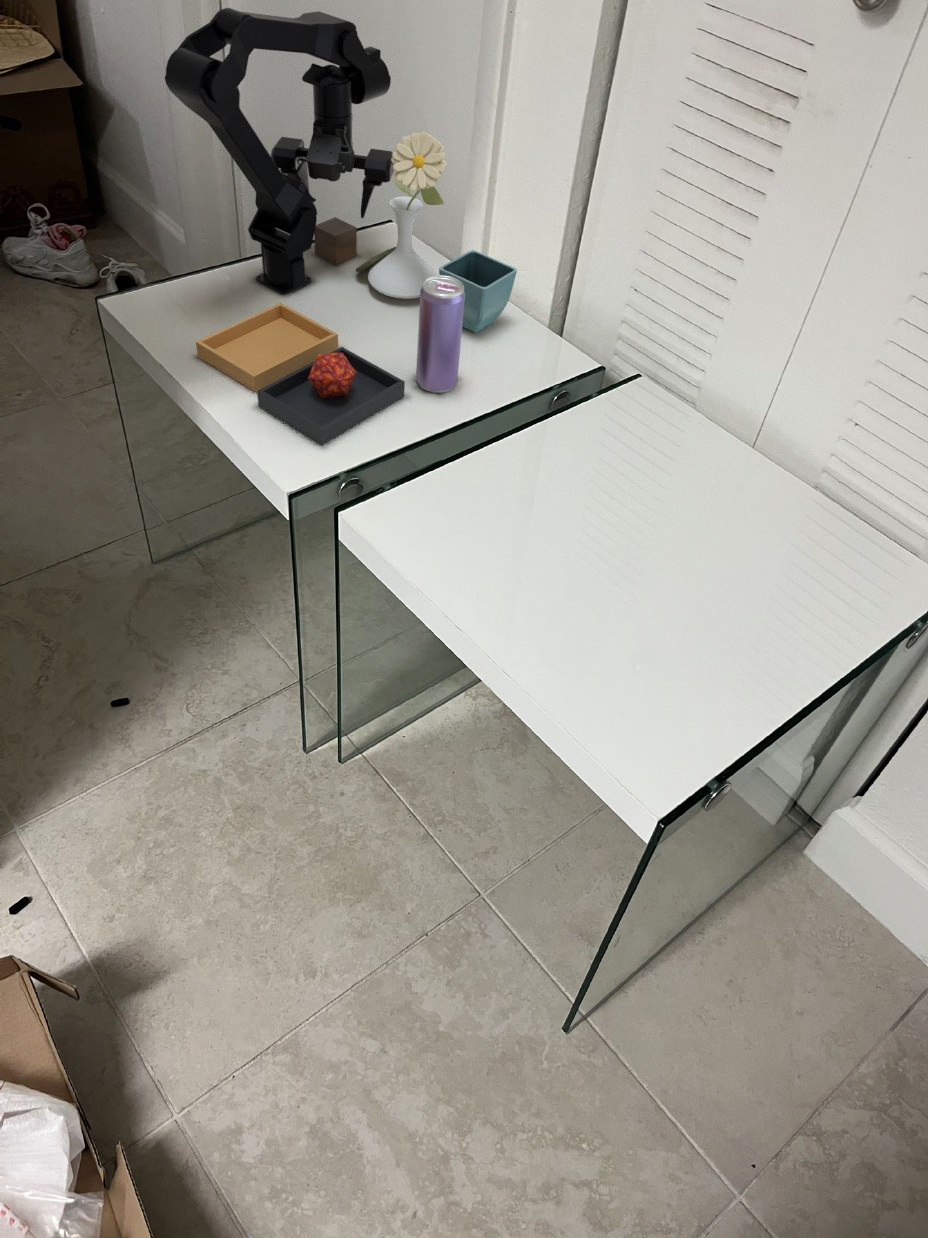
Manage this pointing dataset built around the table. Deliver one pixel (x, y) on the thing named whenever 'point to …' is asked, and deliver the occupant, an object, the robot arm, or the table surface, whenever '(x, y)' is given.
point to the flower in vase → (410, 215)
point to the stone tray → (330, 399)
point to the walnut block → (335, 241)
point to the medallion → (374, 260)
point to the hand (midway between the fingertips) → (335, 213)
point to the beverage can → (439, 333)
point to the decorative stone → (332, 375)
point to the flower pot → (481, 287)
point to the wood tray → (267, 346)
